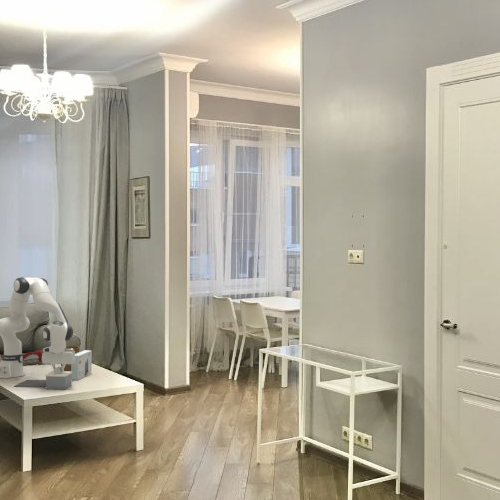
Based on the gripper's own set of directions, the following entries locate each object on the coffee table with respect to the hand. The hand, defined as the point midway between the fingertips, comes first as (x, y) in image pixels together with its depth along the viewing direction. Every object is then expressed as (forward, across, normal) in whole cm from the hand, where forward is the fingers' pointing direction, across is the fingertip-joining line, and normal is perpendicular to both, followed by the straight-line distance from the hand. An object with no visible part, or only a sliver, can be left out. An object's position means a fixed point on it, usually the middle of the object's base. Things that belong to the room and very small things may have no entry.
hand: (58, 371), depth 428 cm
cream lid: (+4, 0, 0) cm, 4 cm away
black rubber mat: (+10, +19, -9) cm, 23 cm away
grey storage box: (+10, 0, 0) cm, 10 cm away
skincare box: (+10, -2, -32) cm, 34 cm away
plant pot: (+10, +14, -50) cm, 53 cm away
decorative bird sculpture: (+10, +43, -72) cm, 85 cm away
